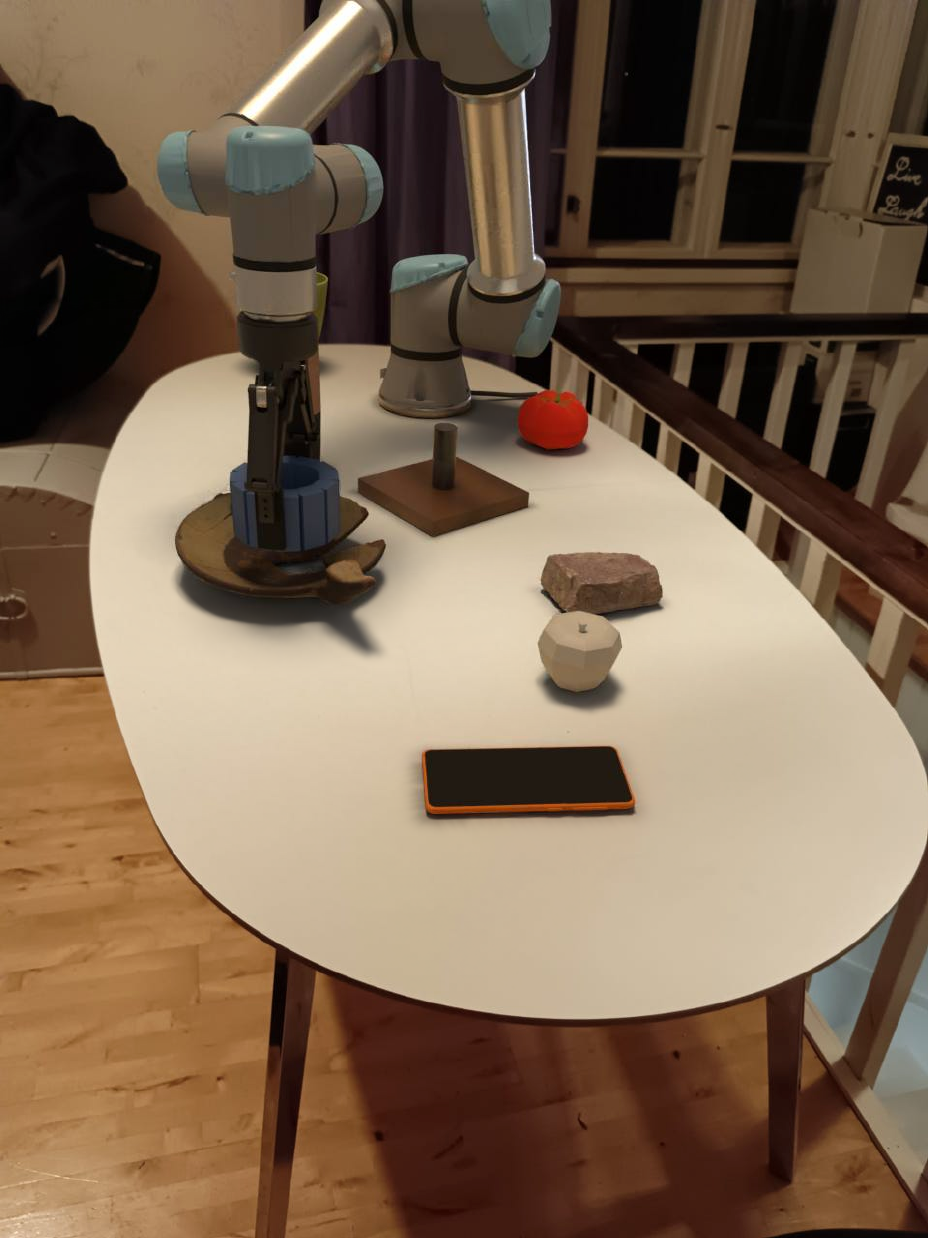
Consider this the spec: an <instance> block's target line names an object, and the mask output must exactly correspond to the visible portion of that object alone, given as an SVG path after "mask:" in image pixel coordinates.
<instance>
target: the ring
mask: <svg viewBox="0 0 928 1238" xmlns="http://www.w3.org/2000/svg"><path fill="white" fill-rule="evenodd" d="M244 482H247V461H245V462H242V463H241V464H239V465H237V466H236V467H235V468H233V469H232V470H231V471H230V472H229V493H231V505H232V518H233V530H234V535H235V537H236V538H238V539H239V540H240V541H242V542H243V543H244V544H246V545H250V547H254V548H258V540H257V524H256V509H255V493H254V492H248V491H247V490H245V487H244ZM280 484H281V487H283V488H284V506H285V527H286V549H285V551H283V550H276V552H291V551H301V548H302V549H303V550H309V549H312V548H315V547H319V546H322V545H325V542H327V543H329V542H330V541H331V540H332V539H333V538H334V537H336V536H337V535H338V534H339V532H340V496H341V492H340V490H341V489H340V475H339V470H338V469H337V467H335V466H333V465H331V464H329V463H328V462H327V461H324V460H322V461H321V459H320V460H317V459H312V458H307V457H302V456H299V457H298V458H296V456H283V463H282V472H281V482H280ZM258 549H260V548H258ZM262 550H267V551H273V550H272V549H262Z"/></svg>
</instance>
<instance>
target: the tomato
mask: <svg viewBox="0 0 928 1238" xmlns="http://www.w3.org/2000/svg"><path fill="white" fill-rule="evenodd" d="M537 393H538V394H536V395H535V396H534V397H527V398H526V399H525V400H523V402H522V403H521V405H520V407H519V410H518V413H517V419H516V421H517V429H518V431H519V434H520V436H521V437H522V438H523V439H524V440H525V441H526V442H527V443H530V444H531V445H536V446H538V447H542V448H543V449H545V450H547V451H548V450H557V449H563V450H567V449H571V448H573V447H576V446H577V445H579V444H580V443H581V442H582V441H583V440H584V438H585V437H586V435H587V433H588V429H589V414H588V411H587V408H586V407H585V406H584V404H583V402H582V401H581V400H580V399H579V398H578V397H577V396H576V394H575V393H572V392H569V391H566V390H565V391H563V392H562V391H559V392H557V391H555V390H553V389H549V390H548V389H544V390H542V391H540V392H537Z"/></svg>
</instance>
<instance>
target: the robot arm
mask: <svg viewBox="0 0 928 1238" xmlns="http://www.w3.org/2000/svg"><path fill="white" fill-rule="evenodd" d="M551 27H552V5H551V0H322V1H321V4H320V7H319V10H318V17H317V18H316V19H315V20H314V21H313V22H312V23H311V24H310V25H309V26H308V27H307V28H306V29H305V30H304V31H303V33H301V34H300V35H299V36H298V37H297V39H295V40H294V41H293V42H292V43H291V45H289V46H288V47H287V48H286V49H285V50H284V51H283V53H281V54H280V55H279V57H277V59H276V60H275V61H273V63H271V65H270V66H269V67H268V68H266V69H265V70H264V72H263V73H262V74H261V75H260V76H259V77H258V78H256V80H255V81H253V83H252V84H251V85H249V87H248V88H247V89H246V90H245V91H243V93H242V94H241V95H240V96H238V97H237V99H236V100H235V101H234V102H232V104H231V105H230V106H229V107H228V108H227V109H226V110H225V111H224V112H223V113H221V115H220V116H219V117H218V118H217V119H216V120H215V121H213V122H212V124H211V125H210V126H209V127H208V128H207V129H205V130H204V131H202V132H201V131H200V132H198V131H197V130H194V129H189V130H187V131H183V130H182V131H181V130H179V131H174V132H172V133H170V134H169V135H167V137H166V138H164V140H163V141H162V143H161V146H160V148H159V150H158V154H157V161H156V171H157V172H156V173H157V179H158V182H159V185H160V186H161V191H162V193H163V195H164V197H165V198H166V199H167V200H168V202H169V203H170V204H171V205H172V206H174V207H175V208H177V209H178V210H179V209H180V210H182V211H187V212H193V213H198V214H200V215H203V216H205V217H210V216H213V217H221V218H229V221H230V230H231V241H232V263H233V271H229V274H228V279H229V281H230V282H232V283H235V284H234V286H235V287H234V292H235V305H236V307H237V308H238V309H239V310H240V312H239V313H238V314H237V316H236V329H237V330H236V332H237V343H238V344H237V345H238V350H239V352H240V354H241V355H243V356H244V357H246V358H247V359H251V360H254V361H255V362H257V363H258V365H259V367H258V374H256V376H255V379H254V383H249V384H248V387H247V395H248V398H247V399H248V433H247V435H248V436H247V456H246V458H247V460H246V463H247V482H244V487H245V490H247V491H248V492H254V493H255V509H256V524H257V540H258V548H260V549H272V550H283V551H285V549H286V527H285V506H284V488H283V487H281V484H280V482H281V472H282V463H283V453H284V444H285V434H286V435H287V438H288V440H292V443H290V442H286V444H285V456H296V458H298V457H299V456H302V457H307V458H312V455H311V444H308V442H318V439H319V433H318V432H312V431H311V430H313V431H314V430H315V427H316V423H315V416H314V409H313V401H312V393H311V386H310V378H309V371H308V359H309V358H311V357H313V356H314V355H315V354H316V353H317V351H318V344H319V340H318V319H317V317H316V316H315V314H314V313H313V312H312V311H314V310H315V309H316V308H317V307H318V299H317V273H318V271H317V259H316V258H317V257H316V236H321V235H324V234H328V233H333V232H337V231H342V230H345V231H348V230H351V229H354V228H355V227H356V226H358V225H360V224H362V223H365V222H367V221H368V220H370V219H371V218H372V217H373V216H374V215H375V214H376V212H377V211H378V210H379V208H380V206H381V203H382V201H383V200H382V199H383V195H384V180H383V176H382V173H381V169H380V167H379V165H378V163H377V161H376V159H375V158H374V157H373V156H372V155H371V154H370V153H369V152H368V151H366V150H365V148H363V147H361V146H359V145H355V144H346V143H338V142H333V143H331V144H329V145H322V144H319V145H318V144H313V139H312V134H313V133H314V132H315V131H316V130H317V129H318V128H319V126H320V125H321V124H322V123H323V122H324V121H325V120H326V118H328V116H330V114H331V113H332V112H333V111H334V110H335V108H336V107H338V105H339V104H340V103H341V102H342V101H343V100H344V99H345V97H346V96H347V95H348V94H350V92H351V91H352V90H353V88H354V87H355V86H356V85H357V84H358V83H359V82H360V81H361V79H362V78H363V77H364V76H367V75H374V74H376V73H378V72H380V71H382V70H383V69H384V68H385V66H387V64H389V63H390V62H393V61H400V60H401V61H402V60H420V61H428V62H429V61H430V62H439V64H440V71H441V77H442V84H443V87H444V88H445V90H446V91H448V92H449V93H451V94H452V95H453V96H455V97H456V101H457V102H456V103H457V110H458V111H457V112H458V120H459V128H460V129H459V130H460V136H461V137H460V138H461V144H462V145H461V146H462V155H463V163H464V164H463V165H464V175H465V183H466V189H467V191H466V192H467V199H468V207H469V208H468V209H469V217H470V226H471V234H472V244H473V251H474V260H472V262H471V263H470V264H469V262H468V258H467V257H466V256H464V255H461V254H455V253H454V254H453V253H444V254H443V253H442V254H439V253H438V254H426V255H418V256H413V257H407V258H403V259H401V260H399V261H398V262H396V264H395V265H394V266H393V268H392V272H391V273H392V274H391V282H390V283H391V284H390V289H389V293H390V355H389V359H388V362H387V365H386V367H384V368H380V369H379V379H382V382H381V383H380V385H379V389H378V403H379V405H380V406H381V407H382V408H383V409H386V410H387V411H389V412H392V413H395V414H398V415H401V416H408V417H414V418H430V419H432V418H433V419H434V418H446V417H452V416H457V415H460V414H462V413H465V412H466V411H468V410H469V409H470V408H471V405H472V396H476V397H494V398H495V397H496V398H511V399H521V398H522V399H524V398H529V397H534V396H535V395H536V394H538V393H539V392H538V391H527V392H507V391H506V392H505V391H495V390H494V391H492V390H473V389H471V388H470V385H469V382H468V381H469V380H468V376H467V372H466V368H465V365H464V360H463V349H464V348H467V349H472V350H479V351H485V352H489V353H495V354H500V355H507V356H511V357H513V358H516V357H522V358H536V357H538V356H540V355H541V354H542V353H543V352H544V351H545V349H546V348H547V346H548V344H549V342H550V340H551V338H552V335H553V333H554V329H555V327H556V323H557V321H558V320H557V319H558V315H559V311H560V306H561V299H562V298H561V297H562V288H561V285H560V283H559V282H558V281H557V280H554V279H553V278H548V279H547V277H546V276H547V273H546V272H547V271H546V263H545V261H544V260H543V258H542V257H541V256H540V255H539V254H538V253H536V252H535V246H534V245H535V244H534V243H535V241H534V230H533V228H534V227H533V211H532V209H533V208H532V195H531V193H532V192H531V177H530V176H531V175H530V174H531V173H530V160H529V159H530V158H529V144H528V143H529V139H528V126H527V125H528V124H527V109H526V108H527V107H526V91H525V89H526V87H528V85H529V84H530V83H531V82H532V81H533V79H534V78H535V75H536V71H537V70H536V68H537V67H538V66H539V65H540V64H542V62H543V61H544V60H545V58H546V56H547V53H548V49H549V45H550V39H551V33H550V28H551Z"/></svg>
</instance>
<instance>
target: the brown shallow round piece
mask: <svg viewBox="0 0 928 1238" xmlns="http://www.w3.org/2000/svg"><path fill="white" fill-rule="evenodd" d="M369 515H370V512H369V510H368V509H367V508H366V507H365V506H362V505H360V504H359V503H358V502H356V501H354V500H352V499H351V498H347V497H343V496H342V495H340V532H339V534H338V535H337V536H336V537H334V538H333V539H332V540H331V541H330V542H329V543H327V542H325V545H322V546H319V547H315V548H312V549H309V550H303V549H302V548H301V551H291V552H276V550H273V551H267V550H262V549H258V548H254V547H250V545H246V544H244V543H243V542H242V541H240V540H239V539H238V538H236V537H235V535H234V530H233V518H232V505H231V493H230V492H227V493H222V492H220V493H217V494H216V495H215V496H213V498H212V499H211V500H209V501H207V502H205V503H203V504H201V505H199V506H198V507H196V508H195V509H193V510H192V511H191V512H189V513H187V515H186V516H185V517H184V518H183V519H182V520H181V522H180V524H179V525H178V527H177V529H176V531H175V535H174V546H175V551H176V553H177V556H178V558H179V559H180V561H181V563H182V564H183V566H185V567H186V569H187V570H188V571H189V572H190V573H191V574H192V575H194V576H195V577H197V578H198V579H200V580H201V581H202V582H204V583H206V584H208V585H211V586H213V587H215V588H217V589H221V590H225V591H226V592H227V591H228V592H231V593H234V594H238V595H239V594H240V595H244V596H245V595H246V596H251V597H259V598H282V599H283V598H284V599H285V598H286V599H288V598H291V599H292V598H294V599H296V598H297V599H301V598H311V597H313V598H318V599H320V600H323V601H324V602H325V603H328V604H329V605H331V606H342V605H345V604H349V602H351V601H352V600H354V599H355V598H357V597H358V596H361V595H363V594H365V593H366V592H368V591H370V590H371V589H372V588H374V587H375V586H376V585H377V581H376V579H375V578H374V577H373V576H371V575H367V573H369V572H370V571H372V570H373V569H374V568H375V567H376V566H377V565H378V564H379V562H380V561H381V559H382V558H383V556H384V554H385V550H386V548H387V544H386V542H385V540H384V539H383V538H382V539H377V540H374V541H371V542H368V541H367V542H366V543H364V544H362V545H358V546H353V547H350V548H347V549H344V550H339V551H336V552H333V553H330V552H331V551H333V550H334V548H335V547H336V546H338V545H340V544H341V543H343V542H344V541H345V540H346V539H347V537H349V536H351V534H352V533H353V532H354V531H355V530H356V529H358V528H359V527H360V526H361V525H362V524H363V523H364V522H365V521H366V520H367V518H368V517H369ZM320 558H321V561H322V564H323V566H324V568H325V569H321V570H317V571H313V570H312V569H311V568H309V567H307V569H308V570H310V571H311V572H301V573H296V574H295V573H293V574H291V573H287V572H285V571H284V570H283V569H282V568H281V567H278V566H277V565H275V564H276V563H277V564H278V563H280V564H282V563H300V562H308V561H312V560H314V559H320Z"/></svg>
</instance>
